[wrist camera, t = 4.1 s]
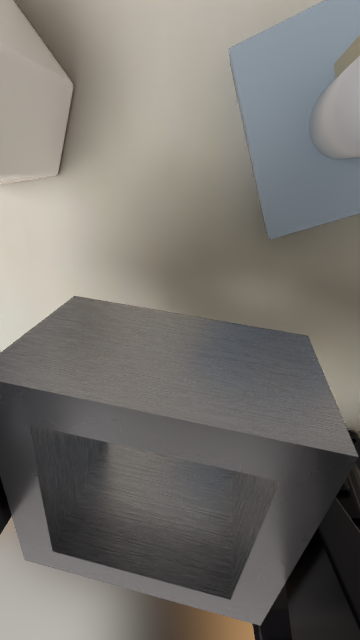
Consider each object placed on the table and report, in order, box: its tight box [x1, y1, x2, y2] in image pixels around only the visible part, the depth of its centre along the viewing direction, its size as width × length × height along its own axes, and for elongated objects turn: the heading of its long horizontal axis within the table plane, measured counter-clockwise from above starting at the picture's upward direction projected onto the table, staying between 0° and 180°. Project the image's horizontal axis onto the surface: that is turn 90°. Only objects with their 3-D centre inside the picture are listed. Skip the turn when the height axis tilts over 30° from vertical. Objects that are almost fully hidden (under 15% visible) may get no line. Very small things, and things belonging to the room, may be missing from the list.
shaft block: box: [229, 0, 360, 240], centre depth 11 cm, size 8×8×6 cm
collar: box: [0, 296, 359, 625], centre depth 9 cm, size 7×7×4 cm
